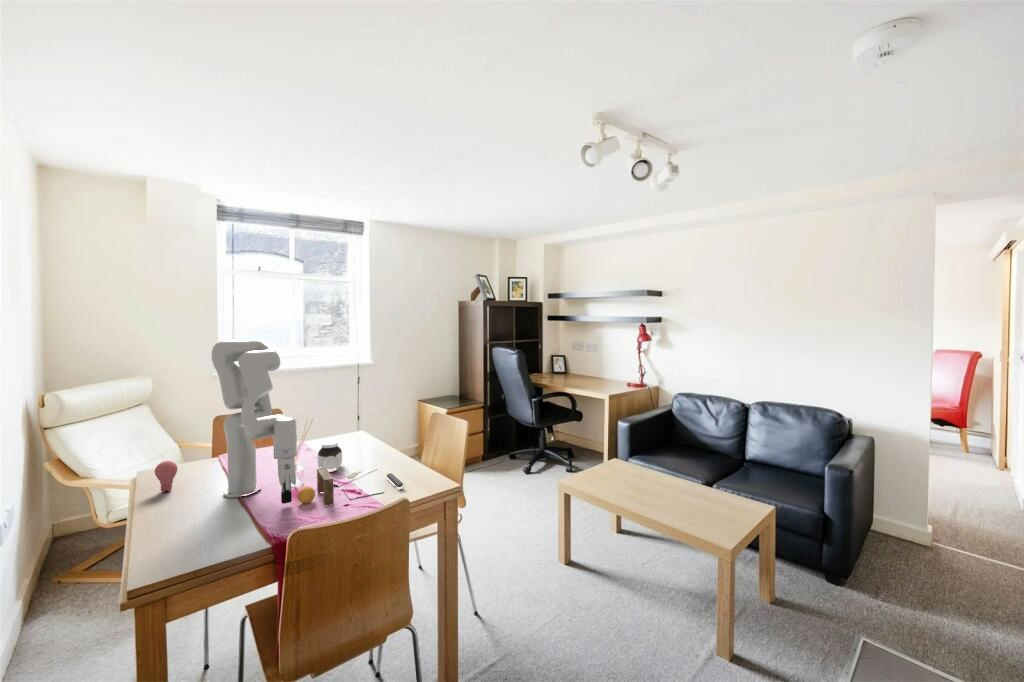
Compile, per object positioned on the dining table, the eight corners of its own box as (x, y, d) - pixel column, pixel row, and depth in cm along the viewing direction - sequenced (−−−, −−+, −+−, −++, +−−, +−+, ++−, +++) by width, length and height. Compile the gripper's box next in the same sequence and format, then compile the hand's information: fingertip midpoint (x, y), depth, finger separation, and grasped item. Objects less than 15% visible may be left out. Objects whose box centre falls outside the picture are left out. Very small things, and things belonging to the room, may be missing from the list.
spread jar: (333, 463, 212) (332, 439, 211) (350, 467, 207) (350, 442, 206) (311, 471, 201) (311, 445, 201) (329, 475, 196) (328, 449, 196)
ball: (312, 481, 170) (317, 495, 171) (295, 488, 167) (300, 502, 168) (312, 487, 164) (317, 502, 165) (295, 494, 162) (300, 508, 163)
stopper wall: (387, 479, 191) (386, 474, 191) (391, 478, 192) (391, 473, 192) (398, 490, 179) (398, 484, 179) (402, 489, 180) (402, 483, 180)
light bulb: (173, 486, 182) (172, 457, 181) (181, 490, 178) (180, 460, 178) (152, 492, 176) (151, 462, 175) (160, 496, 172) (159, 465, 172)
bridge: (325, 506, 164) (324, 480, 163) (317, 492, 176) (317, 468, 176) (333, 504, 165) (333, 478, 165) (325, 491, 178) (325, 467, 177)
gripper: (299, 455, 158) (300, 507, 159) (294, 446, 171) (295, 493, 172) (275, 459, 154) (276, 511, 155) (271, 449, 167) (273, 497, 167)
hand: (286, 502), depth 163 cm, fingers closed
